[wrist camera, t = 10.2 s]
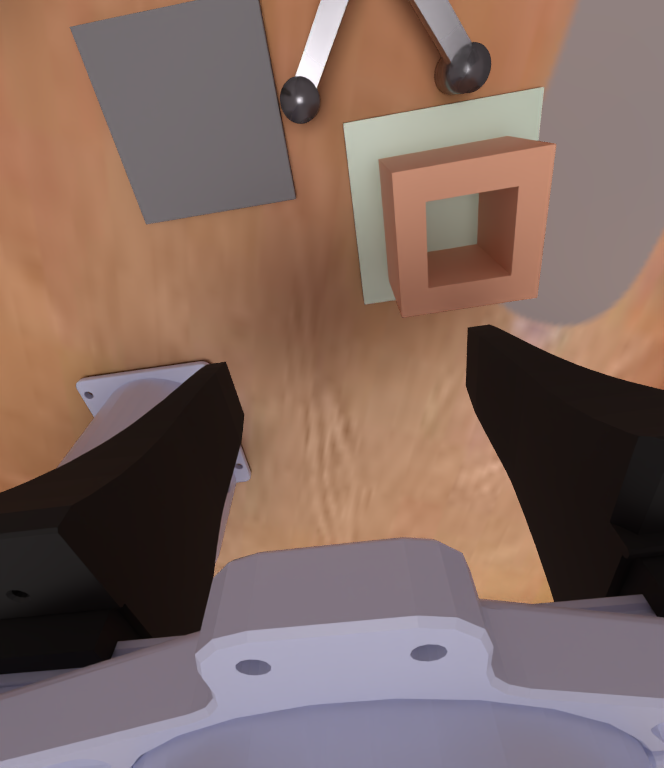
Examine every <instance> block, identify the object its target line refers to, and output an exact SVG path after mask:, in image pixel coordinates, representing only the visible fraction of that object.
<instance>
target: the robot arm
mask: <svg viewBox="0 0 664 768" xmlns="http://www.w3.org/2000/svg"><path fill="white" fill-rule="evenodd" d="M76 388H77V390H78V392H79V393H80V395H81V397H82V398H83V400H84V401H85V403H86V405H87V406H88V408H89V410H90V411H91V413H92V415H93V416H94V419H93V420H92V421H91V423H90V424H89V425H88V427H87V428H86V429H85V431H84V432H83V433H82V435H81V436H80V437H79V439H78V440H77V441H76V443H75V444H74V445H73V447H72V448H71V449H70V451H69V452H68V453H67V455H66V456H65V457H64V459H63V460H62V461H61V463H60V464H59V465H58V467H57V468H56V469H54V470H52V471H50V472H48V473H46V474H43V475H41V476H39V477H37V478H35V479H33V480H30V481H28V482H26V483H24V484H21V485H19V486H17V487H14V488H12V489H9V490H7V491H4V492H2V493H0V768H664V390H661V389H657V388H653V387H649V386H645V385H641V384H637V383H633V382H629V381H625V380H622V379H618V378H615V377H611V376H608V375H605V374H602V373H599V372H596V371H593V370H590V369H587V368H584V367H582V366H579V365H576V364H574V363H571V362H569V361H567V360H564V359H562V358H559V357H557V356H555V355H552V354H550V353H548V352H546V351H544V350H542V349H539V348H537V347H535V346H533V345H531V344H529V343H527V342H525V341H523V340H521V339H519V338H517V337H515V336H513V335H511V334H509V333H507V332H505V331H503V330H501V329H499V328H497V327H494V326H492V325H483V326H476V327H469V328H468V337H467V368H466V388H467V391H468V394H469V397H470V400H471V402H472V405H473V408H474V411H475V413H476V415H477V417H478V419H479V421H480V423H481V425H482V427H483V429H484V431H485V433H486V434H487V436H488V438H489V440H490V442H491V444H492V446H493V448H494V449H495V451H496V453H497V455H498V457H499V459H500V461H501V463H502V464H503V466H504V468H505V470H506V472H507V474H508V476H509V478H510V480H511V483H512V485H513V487H514V490H515V492H516V495H517V498H518V500H519V503H520V505H521V508H522V510H523V513H524V515H525V518H526V521H527V524H528V526H529V529H530V532H531V535H532V537H533V540H534V543H535V545H536V548H537V551H538V554H539V557H540V560H541V563H542V566H543V569H544V572H545V575H546V578H547V581H548V584H549V587H550V590H551V593H552V596H553V599H554V602H550V603H539V604H526V603H516V602H506V601H497V600H487V599H479V598H478V594H477V591H476V588H475V585H474V581H473V578H472V575H471V572H470V569H469V567H468V565H467V562H466V560H465V558H464V556H463V553H461V552H459V551H457V550H455V549H453V548H451V547H449V546H447V545H445V544H443V543H441V542H439V541H437V540H434V539H423V538H407V537H401V538H391V539H382V540H372V541H362V542H353V543H343V544H334V545H324V546H314V547H305V548H295V549H286V550H276V551H267V552H259V553H256V554H252V555H249V556H245V557H242V558H239V559H235V560H233V561H231V562H229V563H228V564H227V565H226V566H225V567H224V568H223V569H222V570H221V571H220V572H219V573H218V574H217V575H216V576H215V577H214V578H213V576H214V568H215V563H216V561H217V558H218V556H219V553H220V549H221V545H222V541H223V537H224V532H225V528H226V524H227V520H228V516H229V511H230V507H231V503H232V499H233V495H234V491H235V486H236V483H237V482H245V481H248V480H249V479H250V477H251V471H250V469H249V466H248V463H247V460H246V458H245V455H244V452H243V450H242V447H241V440H242V432H243V423H244V413H243V410H242V407H241V404H240V401H239V398H238V395H237V393H236V390H235V387H234V384H233V381H232V378H231V375H230V372H229V369H228V367H227V364H226V362H221V363H214V364H209V363H207V362H205V361H199V362H192V363H185V364H177V365H170V366H163V367H156V368H149V369H142V370H135V371H128V372H121V373H114V374H107V375H100V376H93V377H86V378H82V379H80V380H79V381H78V382H77V383H76ZM88 392H91V393H92V394H93V395H91V394H89V393H88ZM238 464H241V465H238Z"/></svg>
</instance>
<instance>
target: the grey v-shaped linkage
mask: <svg viewBox="0 0 664 768" xmlns="http://www.w3.org/2000/svg"><path fill="white" fill-rule="evenodd" d="M408 1H409V3H410V4H411V6H412V8H413V9H414V11H415V13H416V14H417V16H418V18H419V19H420V21H421V23H422V24H423V26H424V28H425V29H426V31H427V33H428V34H429V36H430V38H431V39H432V41H433V43H434V44H435V46H436V48H437V49H438V51H439V53H440V54H441V56H442V57H441V59H440V60H439V62H438V63H437V66H436V69H435V74H434V78H435V83H436V86H437V88H438V89H439V90H440V91H441V92H442V93H444V94H447V95H453V94H464V93H471V92H474V91H476V90H478V89H479V88H480V87H481V86H482V85H483V84H484V83H485V81H486V80H487V78H488V76H489V73H490V69H491V57H490V54H489V51H488V50H487V48H486V47H485V46H484V45H482V44H480V43H477V42H471V40H470V39H469V37H468V35H467V33H466V32H465V30H464V28H463V26H462V24H461V23H460V21H459V19H458V17H457V16H456V14H455V12H454V10H453V8H452V7H451V5H450V3H449V1H448V0H408ZM348 2H349V0H321V1H320V4H319V7H318V10H317V13H316V16H315V19H314V22H313V25H312V28H311V31H310V34H309V37H308V40H307V43H306V46H305V49H304V52H303V55H302V58H301V61H300V64H299V67H298V70H297V73H296V76H295V77H292V78H290V79H289V80H288V81H287V82H286V83H285V84H284V86H283V88H282V90H281V94H280V103H281V108H282V110H283V112H284V114H285V115H286V117H287V118H288V119H289V120H291V121H292V122H295V123H298V124H303V123H307V122H309V121H310V120H312V119H313V118H314V117H315V116H316V114H317V113H318V111H319V108H320V95H319V92H318V90H317V87H318V85H319V82H320V79H321V76H322V74H323V71H324V68H325V65H326V63H327V60H328V57H329V54H330V52H331V49H332V46H333V43H334V41H335V38H336V35H337V32H338V30H339V27H340V24H341V21H342V18H343V16H344V13H345V10H346V7H347V5H348Z"/></svg>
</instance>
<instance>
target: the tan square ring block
mask: <svg viewBox="0 0 664 768" xmlns="http://www.w3.org/2000/svg"><path fill="white" fill-rule="evenodd" d="M555 150H556V144H554V143H548V142H541V141H536V140H530V139H524V138H518V137H511V136H504V137H499V138H493V139H487V140H482V141H476V142H471V143H465V144H460V145H454V146H449V147H443V148H438V149H432V150H427V151H421V152H415V153H410V154H404V155H399V156H393V157H388V158H382V159H378V161H379V172H380V184H381V196H382V207H383V219H384V231H385V242H386V254H387V266H388V277H389V282H390V285H391V288H392V291H393V294H394V296H395V299H396V302H397V305H398V308H399V310H400V313H401V316H402V318H404V317H411V316H417V315H424V314H431V313H437V312H444V311H451V310H457V309H464V308H471V307H477V306H484V305H491V304H497V303H504V302H511V301H517V300H524V299H530V298H537V294H538V286H539V279H540V270H541V263H542V255H543V245H544V239H545V231H546V222H547V214H548V206H549V198H550V189H551V182H552V174H553V165H554V158H555ZM475 193H479V203H478V231H477V244H474V245H468V246H462V247H455V248H449V249H443V250H437V251H431V252H427V230H426V202H428V201H434V200H440V199H446V198H452V197H458V196H463V195H469V194H475Z"/></svg>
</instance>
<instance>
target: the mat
mask: <svg viewBox="0 0 664 768" xmlns="http://www.w3.org/2000/svg"><path fill="white" fill-rule="evenodd" d="M70 29H71V32H72V34H73V37H74V39H75V42H76V44H77V47H78V50H79V52H80V55H81V57H82V60H83V62H84V65H85V68H86V70H87V73H88V75H89V78H90V81H91V83H92V86H93V88H94V91H95V93H96V96H97V99H98V101H99V104H100V106H101V109H102V111H103V114H104V117H105V119H106V122H107V124H108V127H109V130H110V132H111V135H112V137H113V140H114V142H115V145H116V148H117V150H118V153H119V155H120V158H121V160H122V163H123V166H124V168H125V171H126V173H127V176H128V179H129V181H130V184H131V186H132V189H133V191H134V194H135V197H136V199H137V202H138V204H139V207H140V209H141V212H142V215H143V217H144V220H145V222H146V224H151V223H157V222H163V221H169V220H175V219H180V218H186V217H192V216H198V215H204V214H210V213H216V212H222V211H228V210H234V209H239V208H245V207H251V206H257V205H263V204H269V203H275V202H281V201H287V200H292V199H296V194H295V188H294V183H293V178H292V172H291V167H290V162H289V156H288V151H287V146H286V140H285V135H284V130H283V124H282V119H281V114H280V108H279V103H278V98H277V92H276V87H275V82H274V76H273V71H272V66H271V60H270V55H269V49H268V44H267V39H266V33H265V28H264V23H263V17H262V12H261V7H260V1H259V0H195V1H191V2H186V3H181V4H177V5H172V6H167V7H162V8H158V9H153V10H148V11H143V12H139V13H134V14H129V15H124V16H120V17H115V18H110V19H105V20H101V21H96V22H91V23H86V24H82V25H77V26H72V27H70Z"/></svg>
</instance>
